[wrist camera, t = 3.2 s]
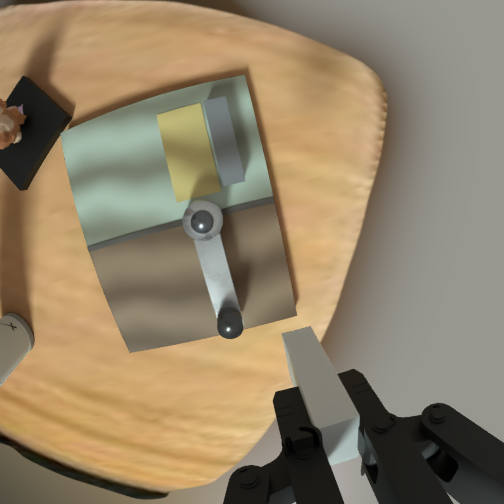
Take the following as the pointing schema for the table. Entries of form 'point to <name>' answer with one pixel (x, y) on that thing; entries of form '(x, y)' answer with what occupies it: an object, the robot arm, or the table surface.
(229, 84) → the door board
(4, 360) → the travel mug
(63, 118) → the figurine
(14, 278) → the table surface
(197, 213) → the bar
